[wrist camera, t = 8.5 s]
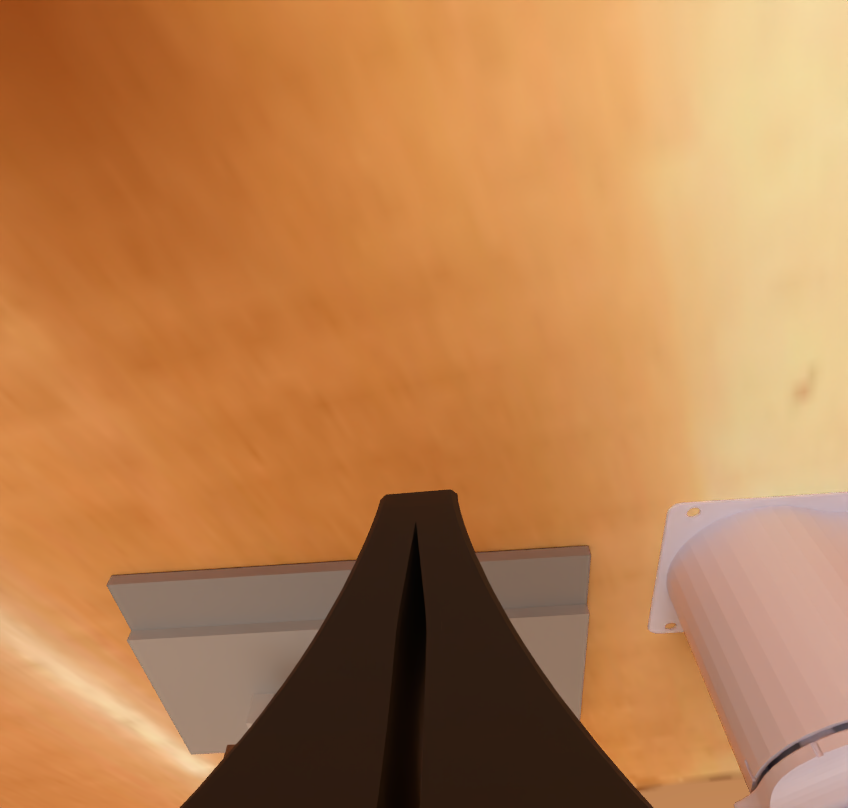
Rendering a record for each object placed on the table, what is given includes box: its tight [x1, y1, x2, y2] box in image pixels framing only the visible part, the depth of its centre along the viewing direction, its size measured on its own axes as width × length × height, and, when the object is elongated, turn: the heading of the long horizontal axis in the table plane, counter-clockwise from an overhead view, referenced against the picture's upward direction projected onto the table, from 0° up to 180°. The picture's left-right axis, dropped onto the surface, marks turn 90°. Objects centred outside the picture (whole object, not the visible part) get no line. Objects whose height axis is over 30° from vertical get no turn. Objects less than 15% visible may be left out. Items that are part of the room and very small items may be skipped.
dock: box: [107, 546, 591, 754], centre depth 28 cm, size 20×12×3 cm, turn 95°
